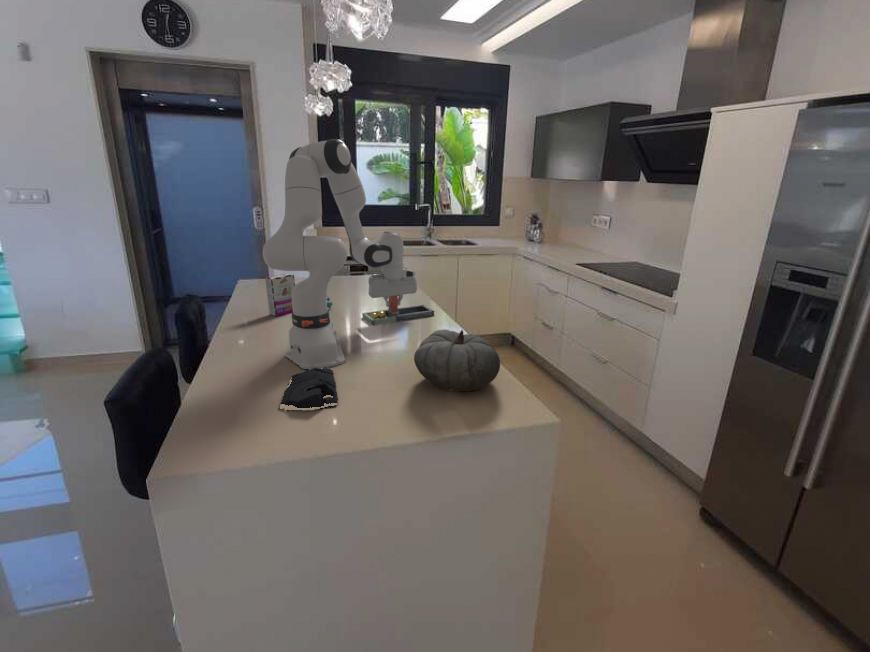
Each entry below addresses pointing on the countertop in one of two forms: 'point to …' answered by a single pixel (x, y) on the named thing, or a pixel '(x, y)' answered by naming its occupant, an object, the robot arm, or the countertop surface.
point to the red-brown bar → (393, 306)
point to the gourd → (457, 361)
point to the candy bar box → (280, 293)
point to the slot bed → (413, 312)
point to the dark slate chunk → (311, 389)
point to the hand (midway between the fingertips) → (393, 305)
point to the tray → (378, 321)
